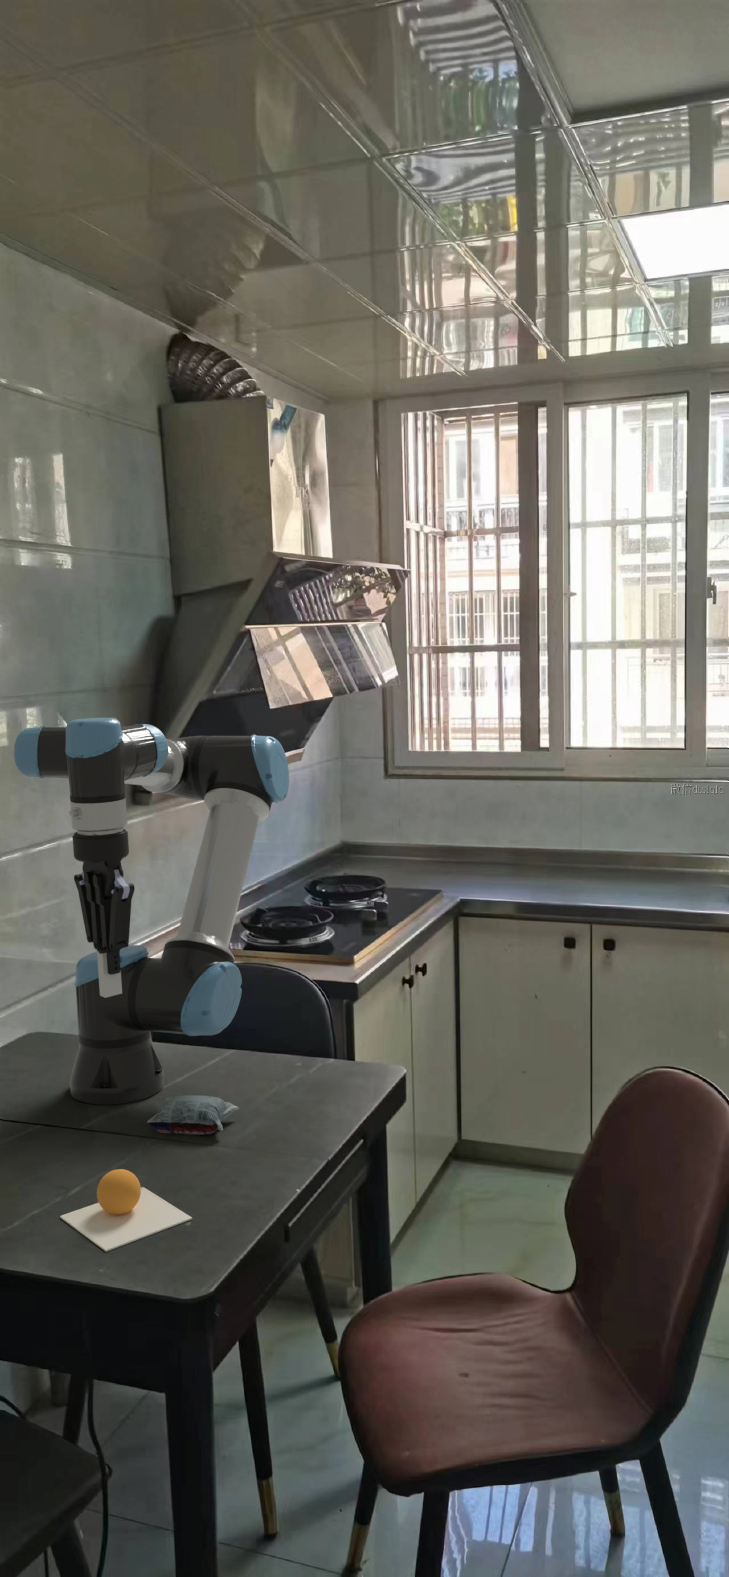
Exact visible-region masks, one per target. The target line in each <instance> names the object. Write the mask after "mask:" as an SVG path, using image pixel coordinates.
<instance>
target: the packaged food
mask: <svg viewBox="0 0 729 1577" xmlns="http://www.w3.org/2000/svg"><path fill="white" fill-rule="evenodd" d="M238 1110H240V1108H239V1106H237V1105H234V1104H232V1103H231V1102H229V1101H226V1102H225V1101H224V1100H223V1099H222V1098H220V1097H217V1096H210V1095H202V1094H201V1095H199V1094H196V1095H195V1094H180V1095H175V1096H167V1097H166V1098H164V1100H163V1102H162V1104H161V1105H160V1106H159V1109H158V1110H157V1112H156V1113H155V1114H154V1115H153V1116H151V1118H149V1119H148V1120H147V1121H146V1122H145V1124H146V1125H148V1126H149V1127H151V1128H153V1129H154V1130H155V1131H157V1132H159V1133H161V1134H178V1135H182V1134H183V1135H196V1136H197V1135H210V1134H213V1133H215V1132H216V1131H217V1130H219V1131H220V1132H224V1128H223V1125H222V1122H223V1121H224V1120H225V1119H226V1118H228V1116H230V1115H231V1114H233V1112H237V1111H238Z"/></svg>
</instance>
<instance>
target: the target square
mask: <svg viewBox="0 0 729 1577" xmlns="http://www.w3.org/2000/svg"><path fill="white" fill-rule="evenodd" d="M59 1218H60V1219H61V1220H63V1221H64V1222H65V1223H67V1224H68V1225H69V1226H71V1227H72V1228H73V1229H75V1230H76V1231H77V1232H79V1234H81V1235H83V1236H84V1237H85V1238H87V1239H89V1241H90V1242H92V1243H93V1244H95V1245H96V1246H98V1247H99V1248H100V1249H102V1250H103V1251H104V1252H106V1253H107V1252H109V1251H112V1250H115V1249H117V1248H120V1247H122V1246H125V1245H128V1244H130V1243H133V1242H135V1241H139V1240H141V1239H144V1238H147V1237H149V1236H152V1235H155V1234H156V1233H159V1232H162V1231H165V1230H167V1229H168V1230H169V1228H173V1227H175V1226H178V1225H180V1224H183V1223H187V1222H188V1221H191V1220H193V1217H192V1216H190V1215H189V1214H187V1213H186V1212H184V1211H182V1209H179V1208H178V1207H176V1206H174V1205H173V1204H171V1203H170V1202H168V1201H166V1200H165V1199H163V1198H162V1197H160V1196H159V1195H157V1194H155V1193H154V1192H152V1191H150V1190H149V1189H147V1188H145V1187H144V1186H142V1187H141V1195H140V1198H139V1201H138V1203H137V1204H136V1206H135V1207H134V1208H133V1209H132V1210H130V1211H129V1212H127V1213H125V1214H121V1215H114V1214H110V1213H108V1212H106V1211H105V1210H104V1209H103V1208H102V1207H101V1206H100V1204H99V1202H97V1203H94V1204H91V1205H88V1206H85V1207H82V1208H80V1209H76V1210H73V1211H71V1212H68V1213H65V1214H62V1215H60V1216H59Z"/></svg>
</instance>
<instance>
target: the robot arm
mask: <svg viewBox="0 0 729 1577" xmlns="http://www.w3.org/2000/svg"><path fill="white" fill-rule="evenodd" d="M13 749H14V750H13V759H14V763H15V766H16V768H17V769H18V771H19V772H20V773H21V774H22V775H24V777H25V776H26V777H30V778H39V779H46V778H54V779H55V778H56V779H68V784H69V786H68V787H69V801H70V810H69V812H68V813H69V817H71V827H72V829H73V830H74V831H75V832H74V833H73V835H72V836H71V837H72V848H73V857H74V859H75V860H76V861H78V862H82V872H81V873H79V874H74V876H73V880H74V884H75V886H76V888H77V892H78V897H79V902H80V903H79V904H80V909H81V913H82V919H83V925H84V931H85V935H86V940H87V942H88V943H89V944H90V943H92V944H93V948H94V949H95V950H96V951H95V952H91V953H89V954H86V955H84V956H83V957H81V958H80V959H79V960H78V962H77V963H76V966H75V982H74V987H75V996H76V999H75V1000H76V1014H77V1028H78V1029H77V1030H78V1031H77V1032H78V1050H77V1052H76V1056H75V1059H74V1064H73V1067H72V1071H71V1075H70V1080H69V1088H70V1089H69V1090H70V1092H69V1093H70V1095H71V1097H72V1098H73V1099H75V1100H76V1101H79V1102H82V1103H86V1104H91V1105H120V1104H126V1103H132V1102H137V1101H140V1100H144V1099H146V1098H149V1097H152V1096H153V1095H155V1094H157V1093H158V1092H160V1091H161V1090H162V1089H163V1088H164V1086H165V1076H164V1074H165V1073H164V1068H163V1066H162V1064H161V1060H160V1058H159V1056H158V1053H157V1051H156V1048H155V1045H154V1043H153V1040H152V1032H157V1033H168V1034H170V1033H171V1034H179V1035H187V1036H188V1037H196V1036H214V1035H218V1034H220V1033H221V1032H223V1030H224V1029H226V1028H227V1027H228V1026H229V1025H230V1024H231V1023H232V1021H233V1019H234V1018H235V1015H236V1013H237V1010H238V1008H239V1005H240V1001H241V997H242V992H243V991H242V988H241V986H242V985H243V984H242V983H243V980H242V973H241V972H240V969H239V967H237V965H236V964H235V956H234V955H233V953H232V952H231V950H230V949H229V946H230V942H231V938H232V933H233V928H234V926H235V921H236V916H237V912H238V909H239V904H240V901H241V895H242V892H243V888H244V883H245V879H246V875H247V871H248V866H249V863H250V858H251V854H252V850H253V846H254V842H255V838H256V833H257V830H258V824H259V823H260V822H262V821H264V820H266V819H267V818H268V817H269V815H270V811H271V808H272V804H273V803H275V804H278V803H281V802H283V801H284V800H286V797H288V792H289V788H290V771H289V770H290V769H289V764H288V760H287V755H286V753H285V750H284V748H283V746H282V744H281V742H280V741H279V740H278V739H276V738H275V737H273V736H270V735H269V736H268V735H256V734H251V735H194V736H182V737H176V738H175V737H174V738H166V736H165V735H164V733H163V732H162V731H161V729H159V728H158V727H156V726H154V725H152V724H145V723H144V724H143V723H140V724H139V723H138V724H137V723H136V724H132V725H128V726H127V725H126V726H121V722H120V721H119V720H118V719H117V718H116V717H90V718H87V717H85V718H77V719H76V718H75V719H73V720H71V721H69V722H68V723H67V725H66V726H56V727H55V726H49V727H48V726H43V725H41V726H37V727H36V726H35V727H28V728H24V729H23V730H22V731H20V732H19V733H18V734H17V736H16V738H15V741H14V744H13ZM125 785H134V786H135V785H136V786H142V788H144V789H145V790H146V791H148V792H151V793H157V794H158V793H159V794H162V795H164V794H165V795H168V796H174V797H179V798H183V799H188V800H195V801H203V802H204V805H206V807H207V808H208V810H209V812H208V817H207V820H206V824H205V828H204V832H203V835H202V839H201V842H200V846H199V850H198V855H197V858H196V862H195V866H194V870H193V874H192V878H191V881H190V885H189V889H188V893H187V896H186V899H185V904H184V908H183V912H182V915H181V920H180V922H179V927H178V931H177V935H176V936H175V937H173V938H171V939H168V940H167V941H166V942H165V944H164V947H163V950H162V953H161V954H162V955H161V957H160V958H157V957H155V958H154V957H149V955H150V954H149V951H148V949H147V947H146V946H143V945H140V944H130V945H129V943H130V929H131V928H130V925H131V915H132V914H131V913H132V900H133V896H134V892H135V885H134V883H132V882H131V883H127V882H126V881H125V879H124V876H125V875H124V869H123V866H122V862H121V861H122V860H123V859H124V858H126V857H127V856H128V855H129V853H130V847H129V833H128V831H127V829H126V826H127V825H128V813H127V800H126V799H127V797H126V792H125V791H126V789H125V788H126V786H125Z"/></svg>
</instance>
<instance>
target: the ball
mask: <svg viewBox="0 0 729 1577" xmlns="http://www.w3.org/2000/svg"><path fill="white" fill-rule="evenodd" d="M141 1188H142V1187H141V1183H140V1180H139V1179H138V1177H137V1176H136V1175H135V1174H134V1173H133V1172H131V1171H130V1170H128V1169H123V1168H119V1169H113V1170H111V1171H109V1172H107V1173H105V1175H103V1176H102V1178H101V1179H100V1181H99V1183H98V1185H97V1188H96V1199H97V1203H99V1204H100V1206H101V1207H102V1208H103V1209H104V1210H105V1211H106V1212H108V1213H110V1214H114V1215H121V1214H125V1213H127V1212H129V1211H130V1210H132V1209H133V1208H134V1207H135V1206H136V1204H137V1203H138V1201H139V1198H140V1195H141Z"/></svg>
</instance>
